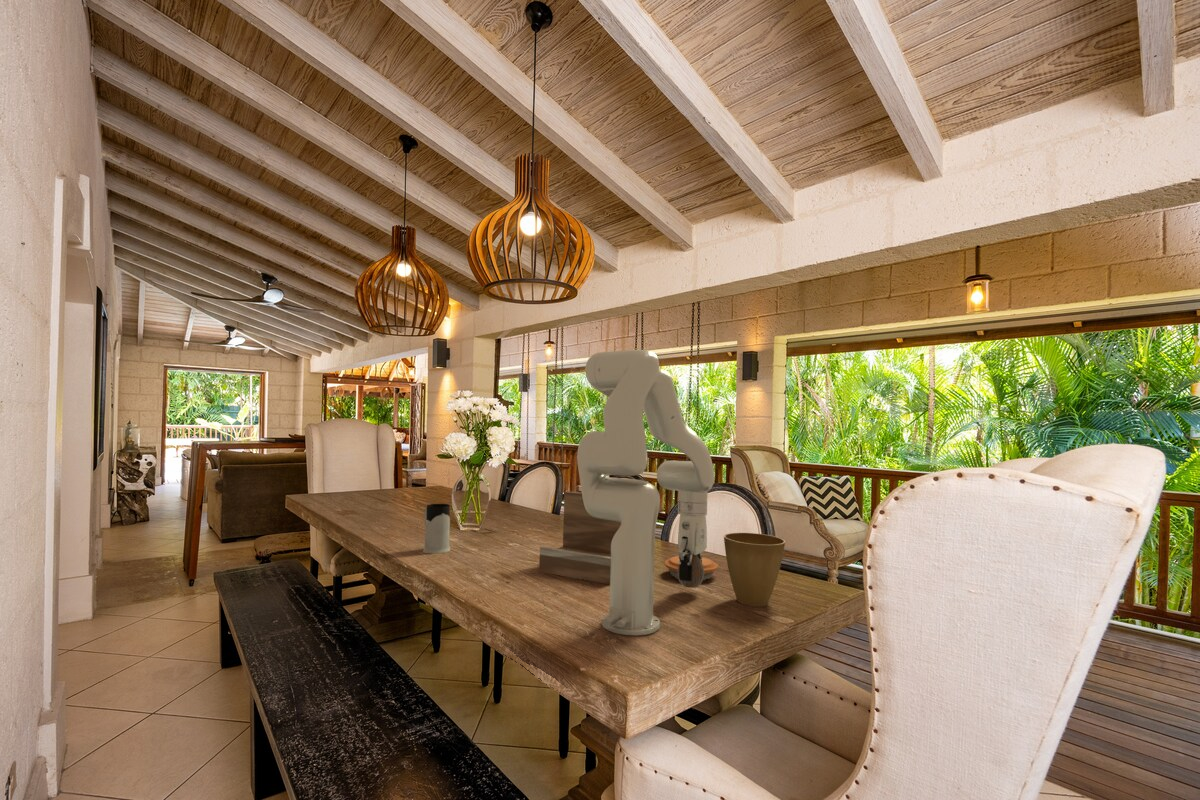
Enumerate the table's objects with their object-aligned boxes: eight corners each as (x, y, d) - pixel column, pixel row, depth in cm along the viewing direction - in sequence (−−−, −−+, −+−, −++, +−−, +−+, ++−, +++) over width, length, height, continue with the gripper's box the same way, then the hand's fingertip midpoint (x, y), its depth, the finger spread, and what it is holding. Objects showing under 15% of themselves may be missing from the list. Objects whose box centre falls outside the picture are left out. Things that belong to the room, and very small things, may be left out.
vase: (708, 588, 144) (709, 554, 145) (685, 590, 142) (686, 555, 142) (694, 581, 151) (695, 548, 151) (672, 583, 148) (673, 549, 149)
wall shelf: (611, 584, 152) (613, 503, 153) (539, 571, 164) (541, 496, 165) (634, 573, 165) (636, 497, 166) (565, 561, 177) (567, 491, 178)
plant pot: (756, 616, 130) (757, 546, 131) (710, 598, 143) (711, 535, 143) (797, 605, 138) (797, 540, 139) (750, 589, 151) (751, 530, 151)
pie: (673, 566, 174) (674, 550, 174) (723, 573, 167) (723, 556, 167) (656, 578, 160) (657, 561, 160) (710, 586, 153) (710, 568, 153)
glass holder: (429, 554, 181) (431, 508, 182) (412, 546, 192) (413, 502, 192) (454, 551, 187) (456, 505, 188) (436, 543, 198) (437, 500, 198)
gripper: (695, 513, 138) (692, 586, 137) (716, 506, 153) (714, 573, 152) (666, 510, 142) (664, 581, 141) (690, 504, 157) (688, 568, 156)
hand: (690, 576), depth 146 cm, fingers closed on vase, 6 cm apart
